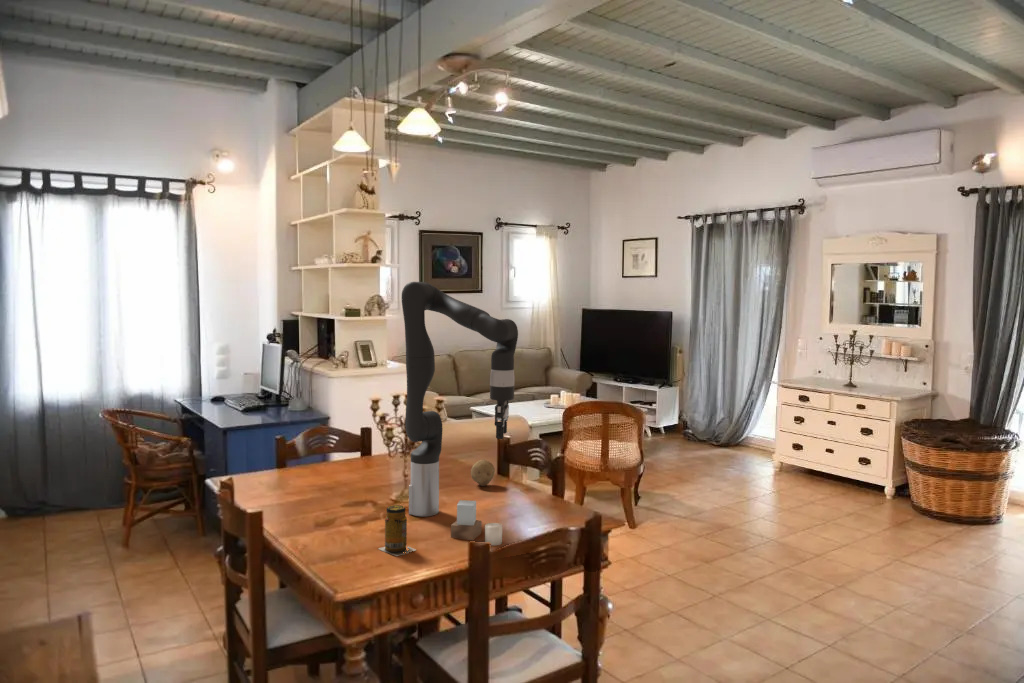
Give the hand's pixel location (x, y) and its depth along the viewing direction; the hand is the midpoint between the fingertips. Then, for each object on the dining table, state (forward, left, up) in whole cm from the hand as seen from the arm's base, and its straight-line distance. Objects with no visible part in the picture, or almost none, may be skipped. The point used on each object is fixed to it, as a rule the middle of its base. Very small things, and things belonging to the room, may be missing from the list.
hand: (501, 435), depth 229 cm
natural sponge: (-12, +42, -28) cm, 52 cm away
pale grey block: (-9, -11, -24) cm, 28 cm away
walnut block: (-9, -11, -28) cm, 32 cm away
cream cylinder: (0, -16, -28) cm, 32 cm away
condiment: (-26, -26, -28) cm, 46 cm away
